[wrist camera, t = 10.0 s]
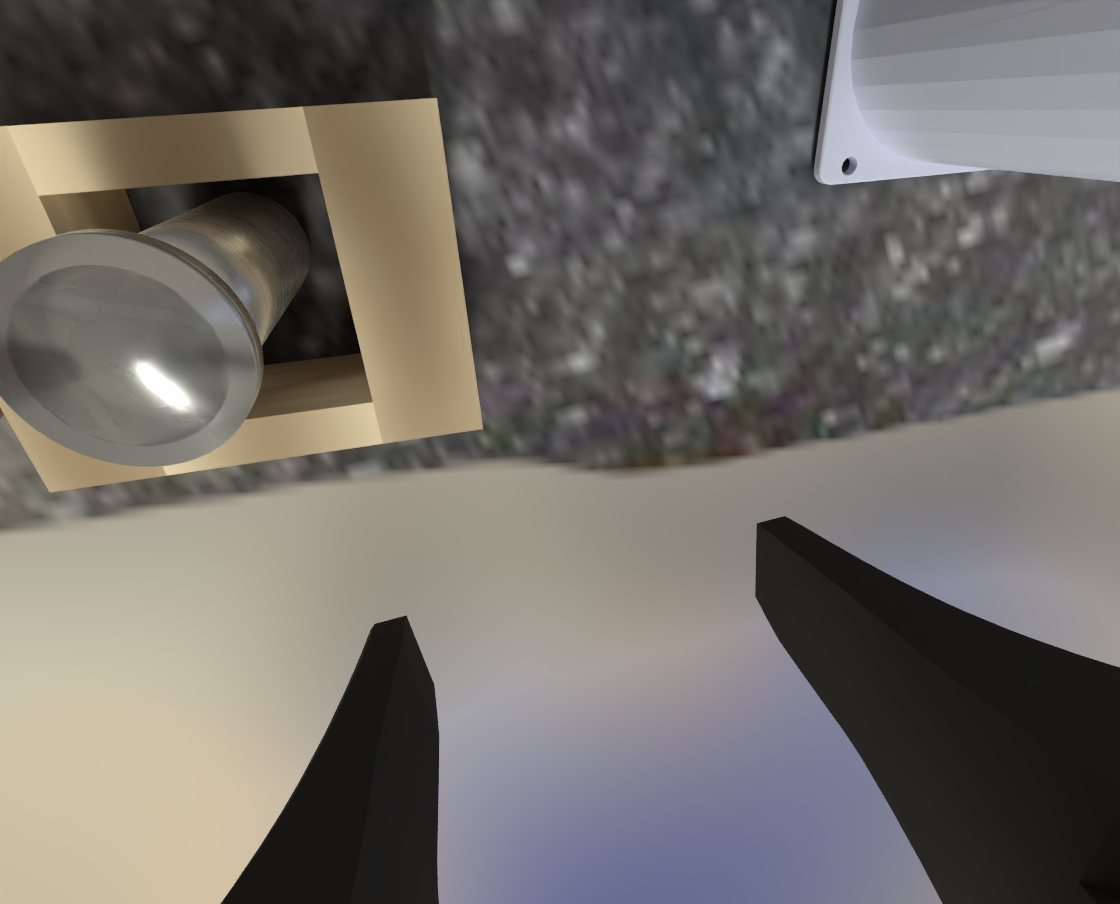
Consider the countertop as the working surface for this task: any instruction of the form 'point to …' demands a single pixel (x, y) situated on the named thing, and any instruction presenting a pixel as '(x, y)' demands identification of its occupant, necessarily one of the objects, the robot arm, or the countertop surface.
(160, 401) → the pin
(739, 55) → the countertop surface
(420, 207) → the hole block
